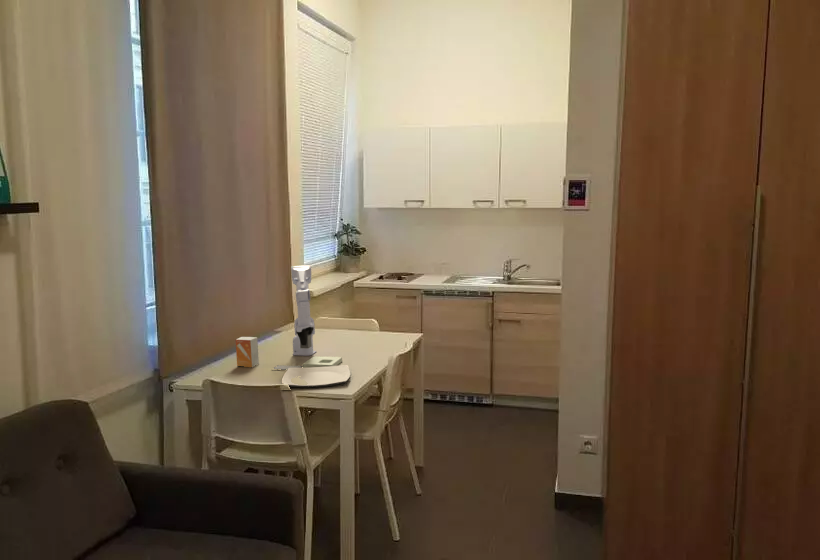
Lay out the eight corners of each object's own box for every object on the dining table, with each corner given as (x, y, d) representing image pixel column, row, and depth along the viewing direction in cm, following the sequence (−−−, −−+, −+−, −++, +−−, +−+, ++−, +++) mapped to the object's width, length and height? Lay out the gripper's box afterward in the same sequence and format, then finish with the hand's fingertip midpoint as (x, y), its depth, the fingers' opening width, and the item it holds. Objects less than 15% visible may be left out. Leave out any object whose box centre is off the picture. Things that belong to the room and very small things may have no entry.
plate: (286, 372, 303) (286, 367, 302) (350, 369, 304) (350, 363, 304) (278, 391, 274) (278, 385, 274) (349, 388, 276) (349, 381, 276)
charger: (300, 348, 318) (299, 333, 317) (303, 346, 322) (302, 332, 321) (308, 348, 317) (307, 334, 316) (311, 346, 321) (310, 332, 320)
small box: (236, 366, 315) (234, 339, 313) (244, 363, 321) (242, 336, 319) (252, 367, 312) (250, 339, 310) (259, 364, 318) (257, 336, 316)
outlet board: (302, 368, 308) (302, 364, 308) (314, 360, 321) (313, 356, 321) (331, 369, 304) (331, 364, 304) (342, 361, 318) (342, 357, 318)
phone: (270, 371, 307) (270, 369, 307) (277, 367, 314) (277, 365, 313) (297, 372, 304) (297, 369, 303) (303, 368, 310) (303, 365, 310)
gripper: (306, 318, 309) (307, 347, 311) (317, 312, 323) (319, 340, 325) (291, 318, 311) (293, 347, 313) (304, 312, 325) (305, 340, 327)
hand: (305, 344), depth 319 cm, fingers closed on charger, 4 cm apart
